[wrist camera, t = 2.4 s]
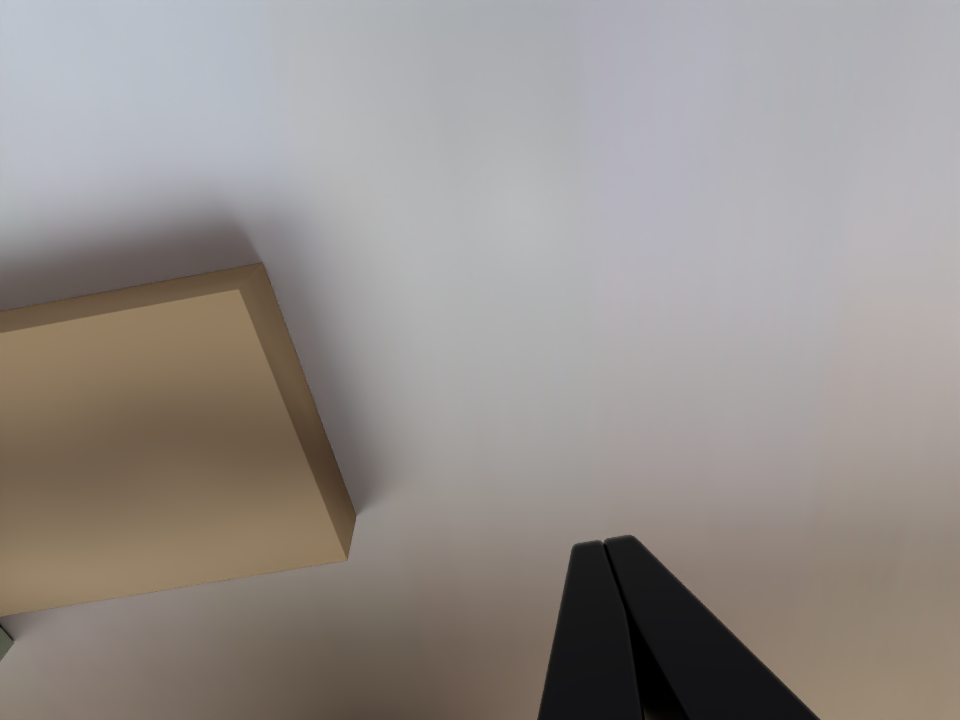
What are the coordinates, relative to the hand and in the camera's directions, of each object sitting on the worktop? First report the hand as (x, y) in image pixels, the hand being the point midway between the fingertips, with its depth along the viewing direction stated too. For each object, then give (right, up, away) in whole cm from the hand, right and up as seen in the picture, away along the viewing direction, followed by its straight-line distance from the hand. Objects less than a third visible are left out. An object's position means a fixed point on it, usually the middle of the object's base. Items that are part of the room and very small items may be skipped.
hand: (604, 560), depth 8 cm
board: (-11, +1, +6) cm, 12 cm away
